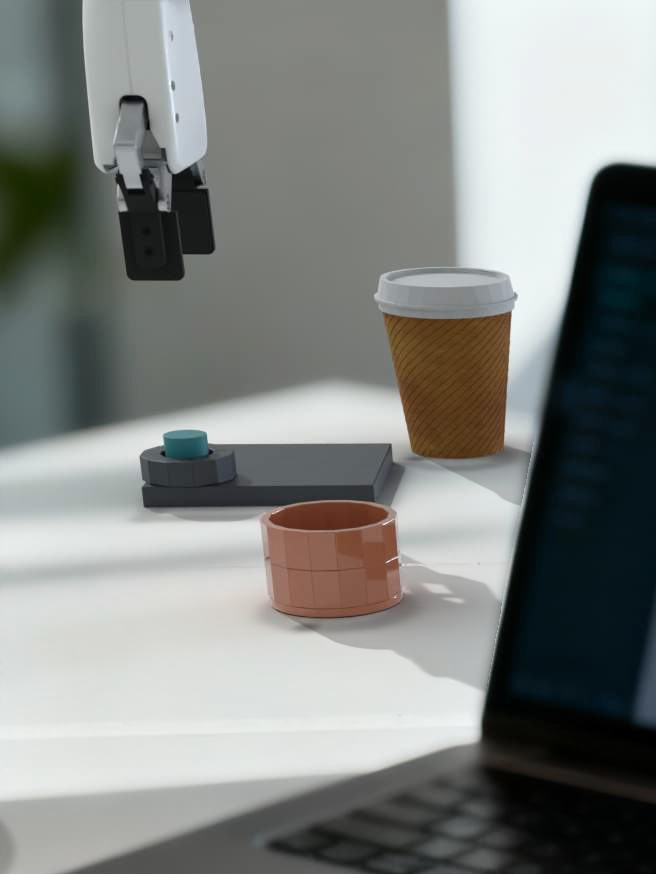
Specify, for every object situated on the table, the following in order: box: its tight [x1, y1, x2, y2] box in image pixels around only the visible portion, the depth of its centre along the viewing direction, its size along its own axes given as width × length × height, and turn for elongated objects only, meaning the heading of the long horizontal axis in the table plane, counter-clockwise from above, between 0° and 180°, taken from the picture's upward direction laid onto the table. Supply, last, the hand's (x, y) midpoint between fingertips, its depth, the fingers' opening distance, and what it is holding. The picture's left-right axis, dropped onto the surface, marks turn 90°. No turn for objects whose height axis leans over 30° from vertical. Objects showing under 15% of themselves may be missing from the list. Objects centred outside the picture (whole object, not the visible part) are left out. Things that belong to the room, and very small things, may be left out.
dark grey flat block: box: [138, 442, 394, 508], centre depth 156 cm, size 14×12×3 cm
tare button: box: [162, 429, 209, 458], centre depth 151 cm, size 3×3×2 cm
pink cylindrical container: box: [259, 500, 404, 618], centre depth 132 cm, size 7×7×5 cm
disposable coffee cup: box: [373, 266, 519, 460], centre depth 165 cm, size 10×10×12 cm
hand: (173, 266), depth 146 cm, fingers open, 9 cm apart
